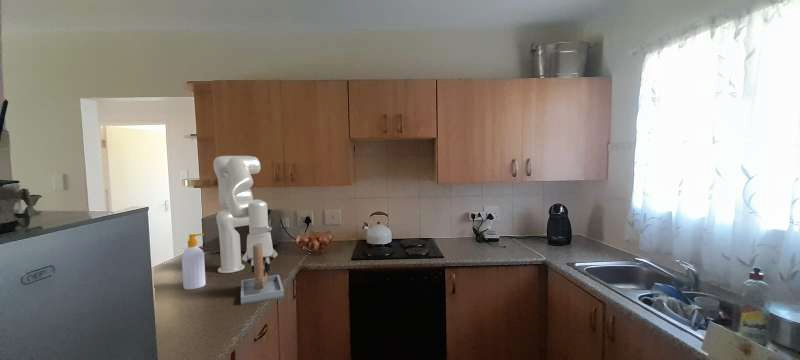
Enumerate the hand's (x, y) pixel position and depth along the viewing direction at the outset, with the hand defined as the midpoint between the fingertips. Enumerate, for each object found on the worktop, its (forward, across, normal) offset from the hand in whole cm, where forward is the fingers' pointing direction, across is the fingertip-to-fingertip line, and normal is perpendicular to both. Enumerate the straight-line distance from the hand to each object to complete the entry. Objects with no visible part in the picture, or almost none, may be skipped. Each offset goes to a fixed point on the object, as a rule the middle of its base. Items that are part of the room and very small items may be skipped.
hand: (260, 272), depth 147 cm
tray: (+8, 0, 0) cm, 8 cm away
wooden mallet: (+6, 0, 0) cm, 6 cm away
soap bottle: (+9, +27, -22) cm, 36 cm away
